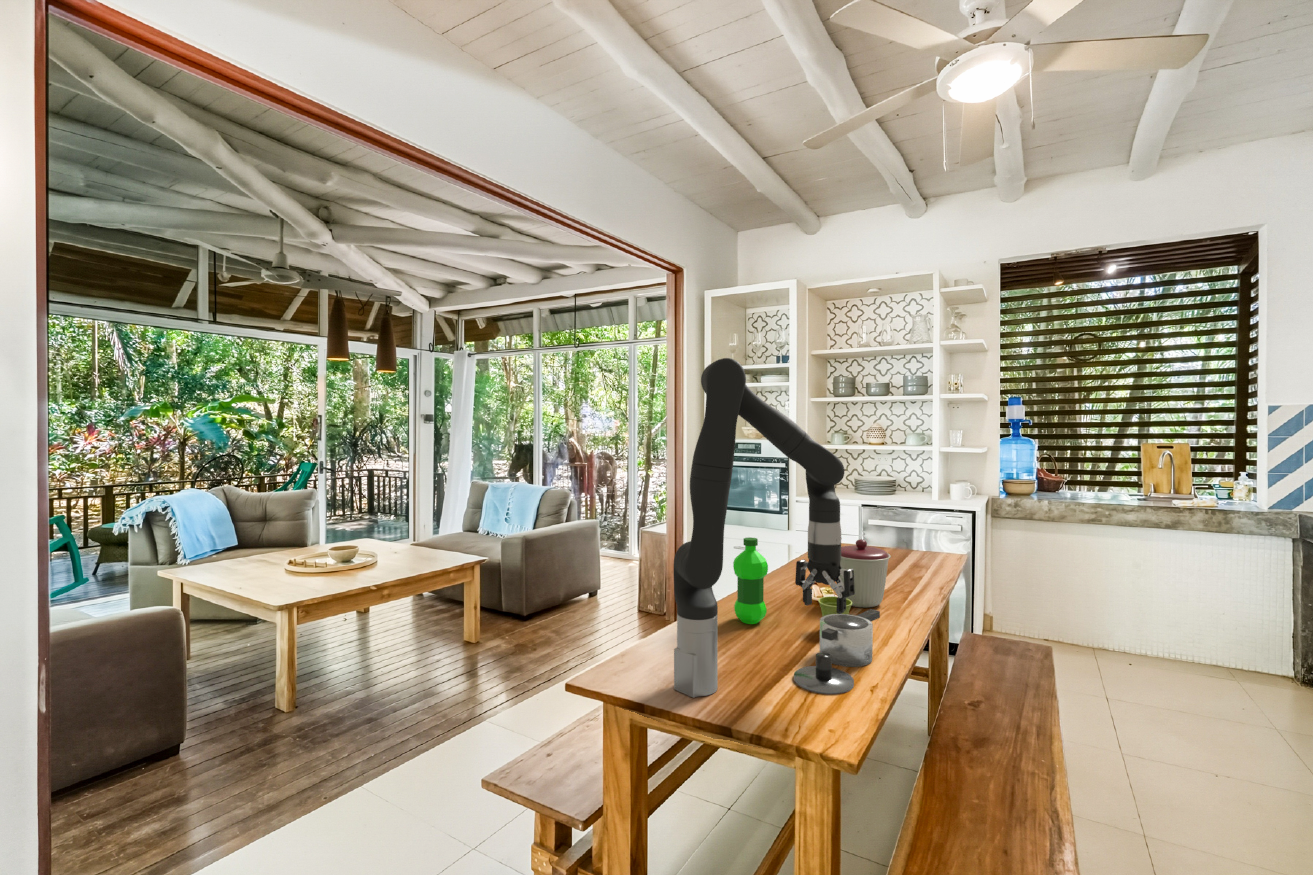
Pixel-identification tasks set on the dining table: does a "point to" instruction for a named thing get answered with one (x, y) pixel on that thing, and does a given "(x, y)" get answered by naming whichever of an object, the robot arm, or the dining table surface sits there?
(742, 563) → the plastic bottle
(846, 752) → the dining table surface
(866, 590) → the canister
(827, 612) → the plant pot
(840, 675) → the lid
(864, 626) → the cooker pot
